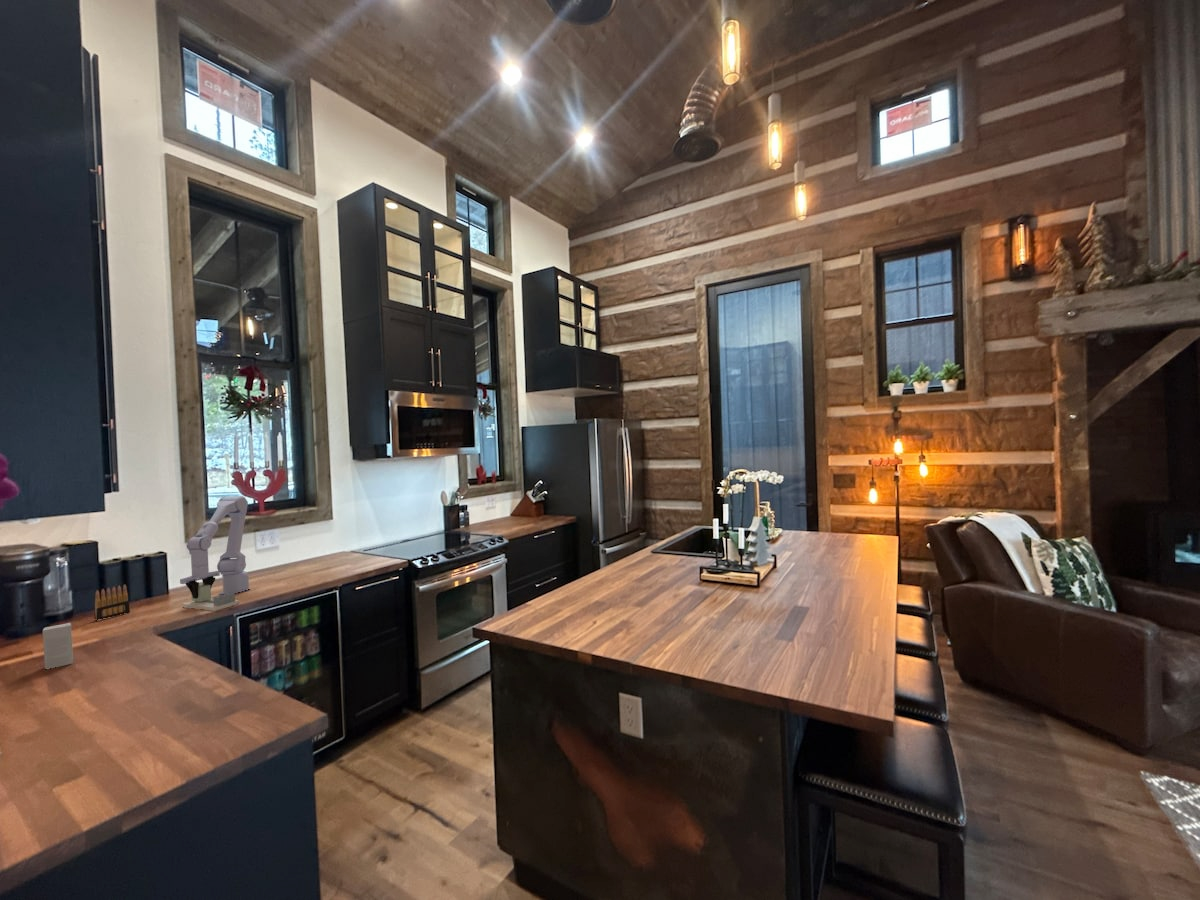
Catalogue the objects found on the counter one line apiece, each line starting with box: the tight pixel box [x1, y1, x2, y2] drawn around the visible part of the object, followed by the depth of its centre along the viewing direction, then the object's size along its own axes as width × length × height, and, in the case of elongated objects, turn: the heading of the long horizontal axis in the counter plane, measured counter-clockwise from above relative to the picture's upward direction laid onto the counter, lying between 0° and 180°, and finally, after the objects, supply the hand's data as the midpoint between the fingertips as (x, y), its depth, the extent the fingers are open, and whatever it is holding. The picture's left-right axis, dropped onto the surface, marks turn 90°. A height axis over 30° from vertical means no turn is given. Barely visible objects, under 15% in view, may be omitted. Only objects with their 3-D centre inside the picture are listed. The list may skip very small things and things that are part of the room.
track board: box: [182, 597, 240, 612], centre depth 218 cm, size 10×20×2 cm, turn 69°
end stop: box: [212, 593, 236, 606], centre depth 215 cm, size 7×2×4 cm, turn 159°
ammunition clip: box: [93, 583, 131, 620], centre depth 207 cm, size 11×2×12 cm, turn 159°
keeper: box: [191, 583, 212, 602], centre depth 220 cm, size 4×6×6 cm, turn 69°
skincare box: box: [42, 622, 74, 670], centre depth 159 cm, size 6×4×12 cm
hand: (201, 596), depth 220 cm, fingers closed on keeper, 4 cm apart
